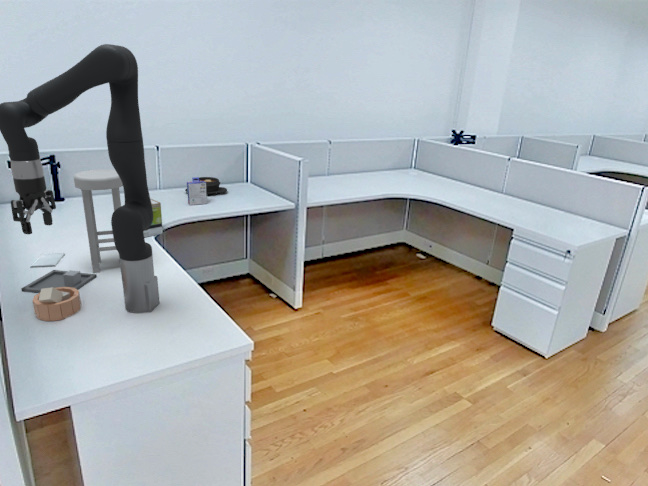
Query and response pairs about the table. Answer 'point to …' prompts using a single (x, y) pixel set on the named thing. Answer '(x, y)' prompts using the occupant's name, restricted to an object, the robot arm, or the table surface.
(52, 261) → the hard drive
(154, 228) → the tea box
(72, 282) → the light gray block
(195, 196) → the ink cartridge box
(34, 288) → the tray
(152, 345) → the table surface
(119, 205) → the stool
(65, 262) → the table surface
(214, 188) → the casserole
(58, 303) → the bowl
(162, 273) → the table surface
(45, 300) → the off-white cubic block
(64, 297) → the pale grey cuboid
